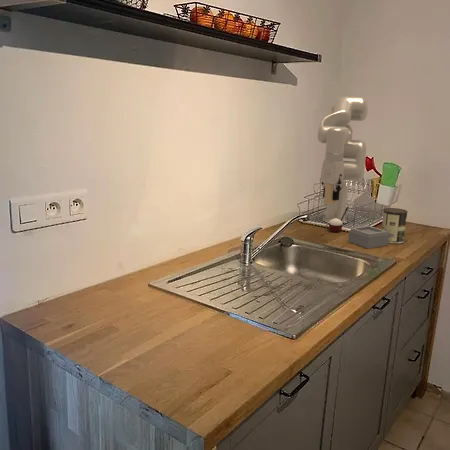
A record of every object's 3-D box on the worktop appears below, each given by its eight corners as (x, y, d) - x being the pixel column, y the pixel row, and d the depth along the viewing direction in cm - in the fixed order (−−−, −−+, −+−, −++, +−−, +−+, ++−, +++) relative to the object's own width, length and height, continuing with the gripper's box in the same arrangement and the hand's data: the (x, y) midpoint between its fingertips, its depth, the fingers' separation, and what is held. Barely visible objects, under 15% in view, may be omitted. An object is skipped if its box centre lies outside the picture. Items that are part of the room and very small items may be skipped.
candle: (329, 201, 222) (331, 178, 219) (339, 203, 218) (341, 180, 215) (321, 202, 219) (323, 179, 216) (330, 204, 214) (332, 181, 212)
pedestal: (347, 241, 222) (349, 228, 220) (367, 238, 228) (369, 225, 226) (367, 248, 212) (369, 234, 210) (387, 245, 217) (389, 231, 216)
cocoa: (324, 232, 238) (325, 207, 235) (328, 229, 244) (329, 205, 241) (344, 234, 234) (345, 209, 231) (348, 231, 239) (348, 206, 236)
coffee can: (399, 237, 230) (403, 208, 227) (407, 244, 220) (411, 213, 217) (377, 237, 231) (380, 207, 227) (383, 243, 221) (387, 212, 217)
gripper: (314, 155, 219) (311, 195, 223) (341, 160, 204) (337, 203, 209) (327, 154, 222) (324, 194, 227) (354, 159, 208) (350, 201, 212)
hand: (330, 198), depth 218 cm, fingers closed on candle, 5 cm apart
